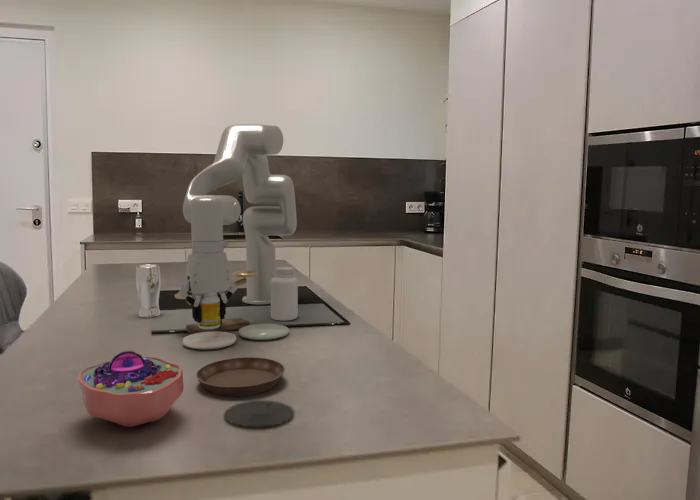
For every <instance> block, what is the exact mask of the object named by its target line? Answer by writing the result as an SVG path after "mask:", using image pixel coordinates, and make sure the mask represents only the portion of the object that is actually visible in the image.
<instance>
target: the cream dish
mask: <svg viewBox="0 0 700 500" xmlns="http://www.w3.org/2000/svg"><path fill="white" fill-rule="evenodd" d="M236 342H237V336H236V334H234V333H231V332H226V331H221V332H201V333H195V334H191V333H190V334H189V335H187V336H184V338H182V345H183V346H185V347H186V348H190V349H196V350H203V351H204V350H207V351H208V350H209V351H210V350H218V349H222V348H225V347H229V346H231V345H234V344H235V343H236Z"/></svg>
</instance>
